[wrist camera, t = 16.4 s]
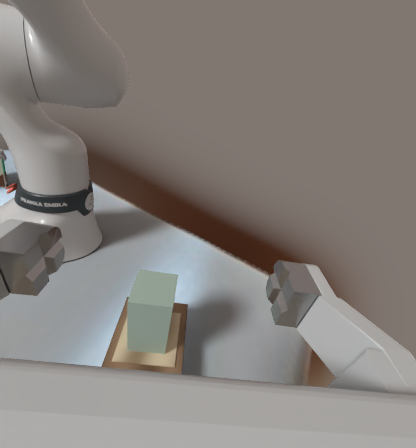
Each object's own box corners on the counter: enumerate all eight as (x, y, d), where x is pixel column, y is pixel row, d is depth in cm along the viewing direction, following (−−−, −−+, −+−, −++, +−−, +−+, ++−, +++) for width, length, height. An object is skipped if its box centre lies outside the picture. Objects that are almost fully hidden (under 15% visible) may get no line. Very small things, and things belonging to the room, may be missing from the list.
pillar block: (127, 350, 30) (127, 301, 25) (137, 317, 34) (139, 269, 29) (164, 354, 30) (172, 307, 25) (170, 320, 35) (177, 274, 29)
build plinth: (99, 392, 29) (97, 377, 27) (127, 311, 39) (127, 296, 37) (176, 398, 30) (180, 385, 28) (184, 318, 40) (187, 303, 38)
